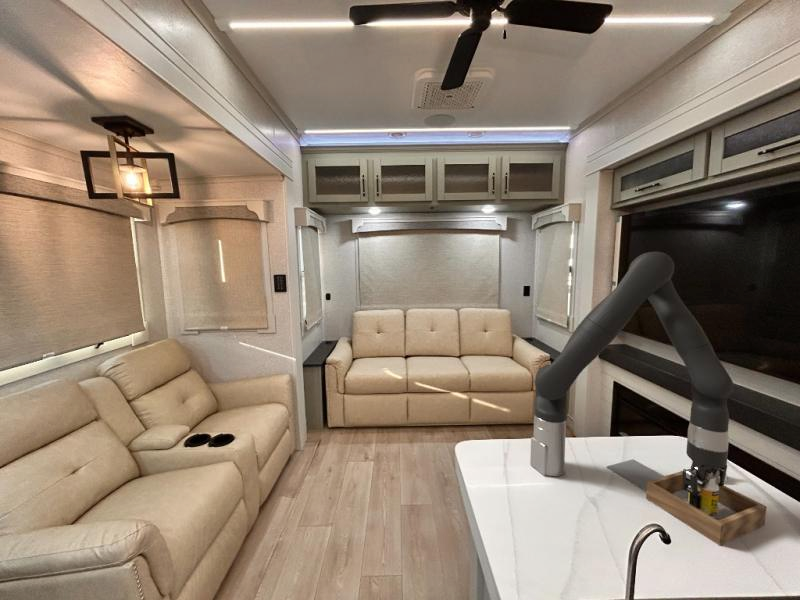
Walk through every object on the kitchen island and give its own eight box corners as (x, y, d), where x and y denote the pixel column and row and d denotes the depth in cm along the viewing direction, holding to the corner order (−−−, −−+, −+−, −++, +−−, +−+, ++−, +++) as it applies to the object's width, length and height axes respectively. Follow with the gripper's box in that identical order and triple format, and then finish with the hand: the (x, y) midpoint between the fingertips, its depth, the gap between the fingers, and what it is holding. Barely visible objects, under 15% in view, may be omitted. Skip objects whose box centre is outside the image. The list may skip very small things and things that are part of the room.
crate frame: (719, 545, 72) (721, 525, 72) (645, 498, 87) (646, 481, 87) (764, 525, 78) (766, 506, 77) (688, 484, 93) (689, 468, 92)
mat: (645, 491, 90) (645, 490, 90) (606, 467, 101) (606, 466, 101) (673, 482, 94) (674, 481, 94) (633, 460, 105) (633, 459, 105)
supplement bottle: (713, 522, 79) (716, 484, 78) (684, 509, 83) (687, 472, 82) (719, 513, 82) (722, 476, 81) (691, 500, 86) (693, 465, 86)
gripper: (706, 431, 87) (702, 489, 88) (671, 440, 82) (667, 500, 84) (743, 445, 80) (738, 507, 81) (707, 455, 75) (702, 521, 77)
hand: (702, 503), depth 82 cm, fingers closed on supplement bottle, 5 cm apart
